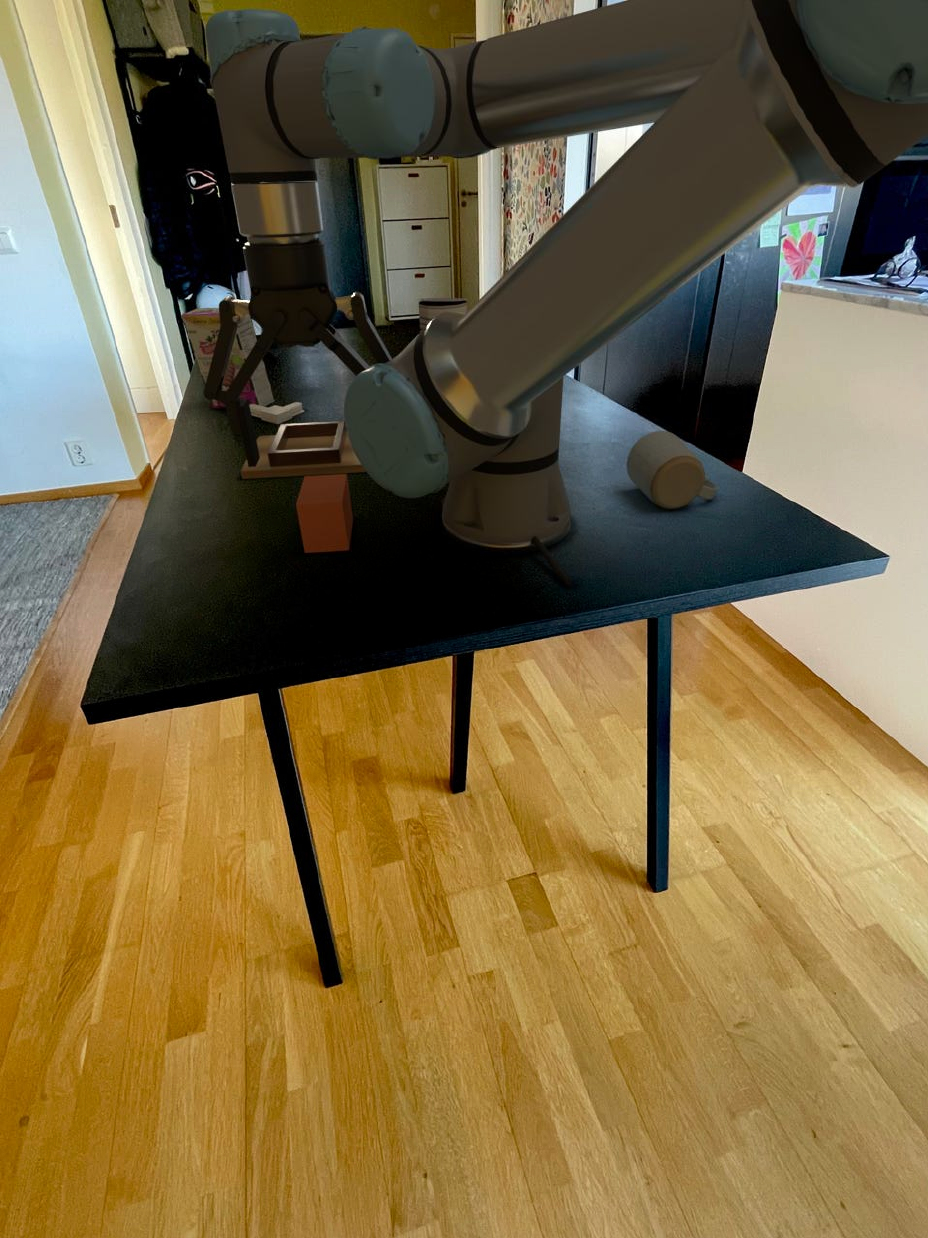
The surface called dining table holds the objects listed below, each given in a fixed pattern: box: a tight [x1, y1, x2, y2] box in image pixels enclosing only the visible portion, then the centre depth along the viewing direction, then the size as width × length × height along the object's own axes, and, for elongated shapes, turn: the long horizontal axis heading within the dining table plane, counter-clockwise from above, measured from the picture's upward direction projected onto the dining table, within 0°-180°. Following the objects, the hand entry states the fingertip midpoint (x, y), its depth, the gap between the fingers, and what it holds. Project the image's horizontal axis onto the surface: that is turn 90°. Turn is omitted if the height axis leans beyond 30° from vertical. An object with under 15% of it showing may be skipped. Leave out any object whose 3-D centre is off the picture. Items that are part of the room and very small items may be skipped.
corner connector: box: [249, 401, 305, 425], centre depth 118 cm, size 8×8×2 cm
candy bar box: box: [180, 307, 276, 410], centre depth 117 cm, size 11×5×16 cm, turn 68°
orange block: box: [295, 473, 354, 554], centre depth 77 cm, size 8×5×6 cm, turn 5°
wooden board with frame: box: [239, 420, 367, 480], centre depth 99 cm, size 15×18×3 cm
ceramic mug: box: [626, 430, 719, 510], centre depth 82 cm, size 11×8×8 cm
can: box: [417, 297, 468, 333], centre depth 151 cm, size 11×11×12 cm
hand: (316, 459), depth 73 cm, fingers open, 13 cm apart
